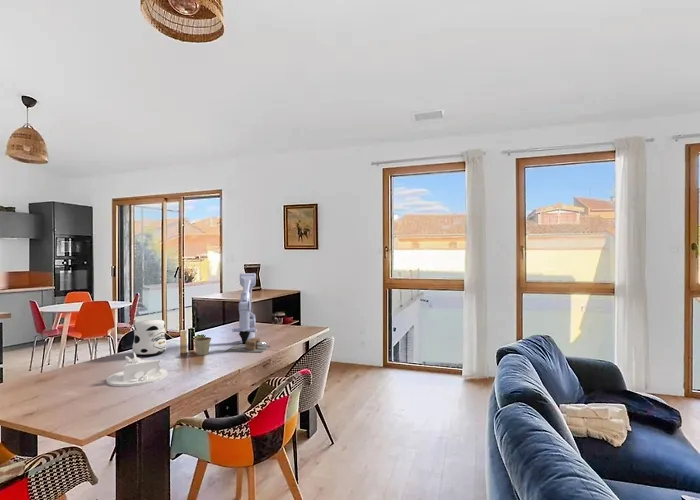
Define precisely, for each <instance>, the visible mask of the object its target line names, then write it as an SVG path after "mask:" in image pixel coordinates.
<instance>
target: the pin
mask: <svg viewBox="0 0 700 500" xmlns="http://www.w3.org/2000/svg"><path fill="white" fill-rule="evenodd" d="M245 346H246V343H245ZM256 346H267V342H261V341H260V342H256Z"/></svg>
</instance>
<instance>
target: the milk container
mask: <svg viewBox="0 0 700 500" xmlns="http://www.w3.org/2000/svg"><path fill="white" fill-rule="evenodd" d="M133 333H134V337H133V338H134V339H133V343H132V353H133V352H134V353H135V354H136V356H141V357H143V356H145V357H147V356H149V357H150V356H155V355H159V354H162V353H164V352H165V351H166V350H167V345H168V344H167V339H166V334H165V333H166V324H165V321H164V320H163V319H149V320H139V321H136V322H135V323H134V330H133Z"/></svg>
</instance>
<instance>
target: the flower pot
mask: <svg viewBox="0 0 700 500" xmlns="http://www.w3.org/2000/svg"><path fill="white" fill-rule="evenodd" d="M211 340H212V337H207V336H206V337H205V336H202V337H195V338H193V341H194V344H195V351H196V355H197V356H206V355H208V354H209V350H210V344H211Z"/></svg>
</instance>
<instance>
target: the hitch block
mask: <svg viewBox="0 0 700 500" xmlns="http://www.w3.org/2000/svg"><path fill="white" fill-rule="evenodd" d="M256 342H261V338H260V337H255V338H251V339H249V340H247V341H246V346H245V345H243V344H234V345H233V346H231V347H229V348H227V349H226V350H224V352H226V353H253V354H255V353H256V354H257V353H258V354H261V353H264V351H265V352H266V350H267V349H269V348H271V345H266V346H256Z"/></svg>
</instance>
